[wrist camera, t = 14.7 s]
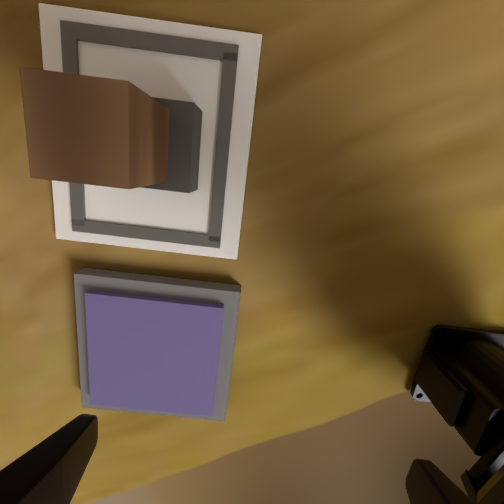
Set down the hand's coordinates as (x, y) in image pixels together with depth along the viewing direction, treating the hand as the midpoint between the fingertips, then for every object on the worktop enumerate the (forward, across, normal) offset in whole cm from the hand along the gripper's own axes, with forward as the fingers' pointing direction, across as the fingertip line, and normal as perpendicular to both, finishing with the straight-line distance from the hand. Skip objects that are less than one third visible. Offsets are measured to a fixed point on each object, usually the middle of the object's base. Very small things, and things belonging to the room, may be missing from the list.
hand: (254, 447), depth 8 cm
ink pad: (+12, +6, +6) cm, 15 cm away
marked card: (+12, +8, -8) cm, 17 cm away
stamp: (+12, +8, -8) cm, 16 cm away
